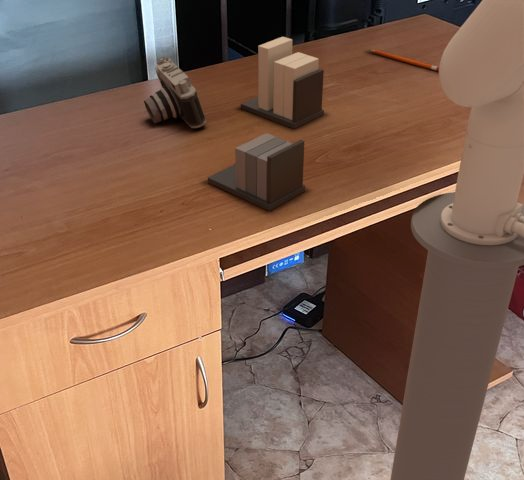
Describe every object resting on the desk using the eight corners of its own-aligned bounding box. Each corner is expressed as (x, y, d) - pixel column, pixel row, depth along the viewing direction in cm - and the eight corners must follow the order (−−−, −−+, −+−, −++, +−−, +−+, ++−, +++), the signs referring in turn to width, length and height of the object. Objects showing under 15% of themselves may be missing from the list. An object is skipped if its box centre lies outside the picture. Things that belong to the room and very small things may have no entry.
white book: (290, 100, 157) (292, 39, 149) (267, 111, 153) (268, 48, 145) (281, 97, 158) (282, 36, 151) (258, 107, 154) (258, 45, 147)
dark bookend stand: (323, 114, 154) (327, 58, 147) (294, 129, 149) (295, 71, 142) (270, 95, 162) (271, 41, 154) (240, 108, 156) (239, 52, 149)
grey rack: (305, 191, 131) (307, 140, 125) (269, 211, 126) (269, 159, 120) (244, 164, 138) (243, 115, 132) (207, 182, 133) (205, 132, 127)
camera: (142, 113, 158) (124, 67, 151) (180, 95, 159) (163, 49, 152) (169, 144, 147) (151, 97, 140) (209, 124, 149) (193, 76, 142)
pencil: (438, 72, 172) (439, 68, 171) (367, 52, 181) (367, 48, 180) (440, 71, 172) (441, 67, 171) (369, 51, 181) (369, 47, 181)
